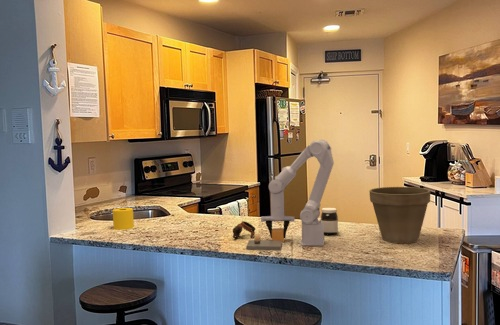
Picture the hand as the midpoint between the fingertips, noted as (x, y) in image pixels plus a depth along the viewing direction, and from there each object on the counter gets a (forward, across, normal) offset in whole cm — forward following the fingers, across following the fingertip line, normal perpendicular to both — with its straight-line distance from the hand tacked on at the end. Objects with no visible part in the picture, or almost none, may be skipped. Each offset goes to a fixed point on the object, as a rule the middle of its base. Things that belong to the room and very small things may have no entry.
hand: (278, 237), depth 199 cm
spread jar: (+2, -21, -15) cm, 26 cm away
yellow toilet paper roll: (+2, +81, -25) cm, 85 cm away
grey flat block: (+1, +5, +10) cm, 11 cm away
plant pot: (+2, -52, -4) cm, 52 cm away
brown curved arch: (+2, +17, -6) cm, 18 cm away
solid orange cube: (+1, 0, 0) cm, 1 cm away
